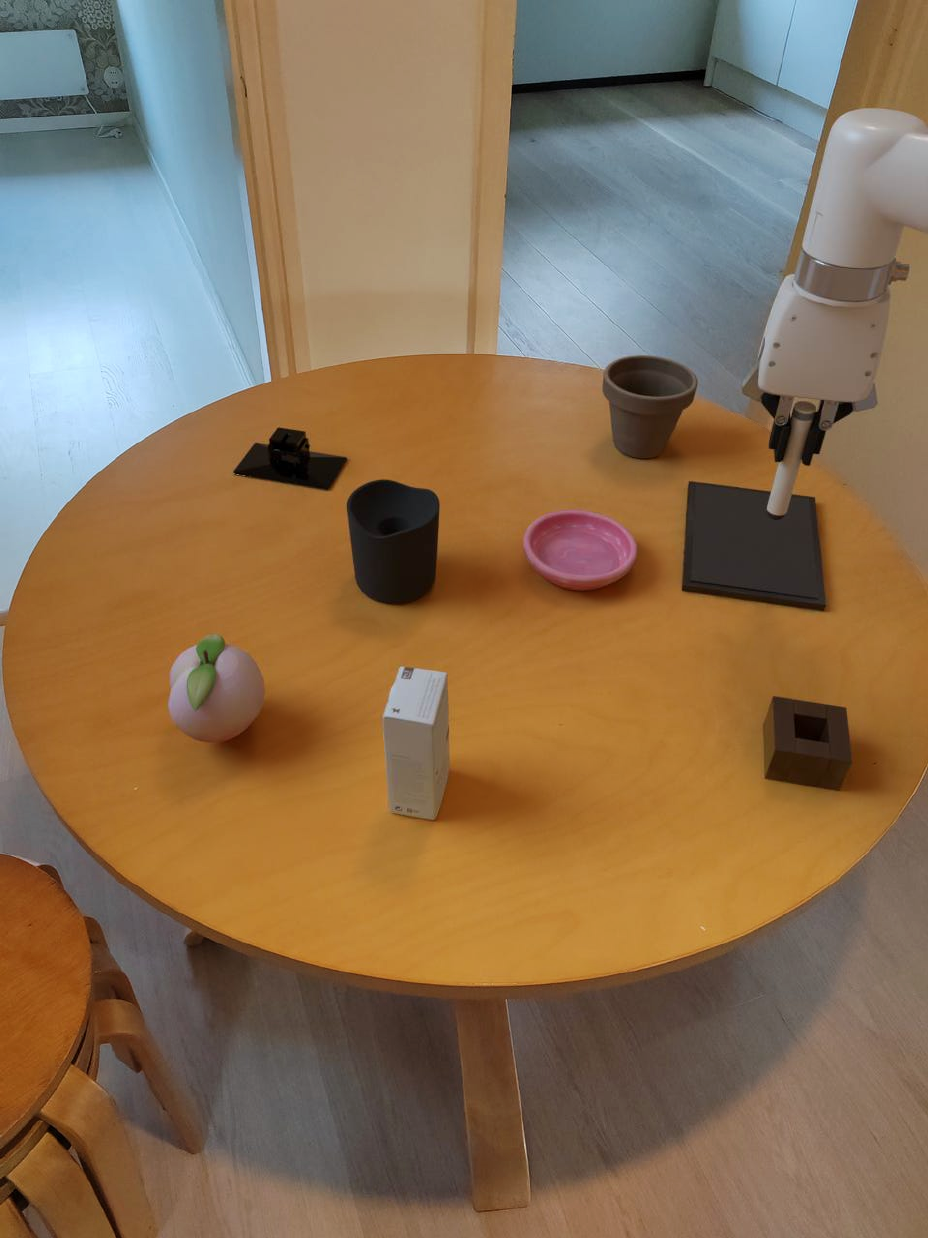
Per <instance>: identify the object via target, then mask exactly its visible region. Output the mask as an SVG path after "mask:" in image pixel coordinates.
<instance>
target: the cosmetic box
mask: <svg viewBox="0 0 928 1238" xmlns="http://www.w3.org/2000/svg"><path fill="white" fill-rule="evenodd" d="M448 676H449V673H448V672H445V671H439V670H433V669H432V670H431V669H424V668H416V667H409V666H400V667H399V668H398V672H397V674H396V676H395V680H394V682H393V684H392V686H391V688H390V691H389V694H388V699H387V702H386V705H385V707H384V711H383V714H382V733H383V734H382V735H383V744H384V757H385V758H384V759H385V773H386V786H387V788H386V789H387V799H388V800H387V801H388V811H389V813H391V814H397V815H400V816H401V815H402V816H404V817H411V818H417V819H422V820H427V821H434V820H436V818H437V817H438V814H439V811H440V808H441V805H442V802H443V798H444V796H445V791H446V787H447V784H448V779H449V774H450V768H451V766H450V763H451V762H450V705H449V683H448V681H449V678H448Z"/></svg>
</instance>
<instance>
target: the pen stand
mask: <svg viewBox="0 0 928 1238" xmlns="http://www.w3.org/2000/svg"><path fill="white" fill-rule="evenodd" d="M848 719H849V718H848V710H847V707H846V706H841V705H835V704H828V703H827V704H826V703H819V702H813V701H807V700H801V699H794V698H789V697H782V696H776V695H773V696H772V697H771V700H770V704H769V706H768V709H767V711H766V715H765V718H764V721H763V725H762V734H763V735H762V736H763V772H764V779H765V780H772V781H778V782H783V783H789V784H795V785H800V786H801V785H802V786H807V787H814V788H821V789H825V790H831V791H832V790H833V791H838V792H840V791H841V789H842V787H843V784H844V782H845V780H846V778H847V775H848V773H849V771H850V768H851V766H852V765H853V756H852V755H853V754H852V747H851V746H852V745H851V738H850V737H851V736H850V729H849V720H848Z"/></svg>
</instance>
